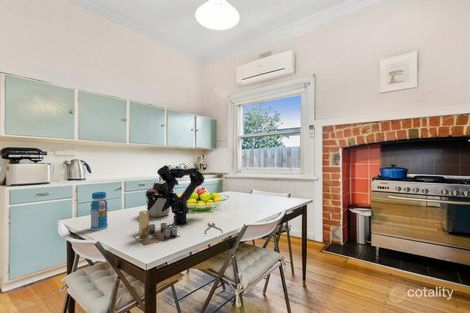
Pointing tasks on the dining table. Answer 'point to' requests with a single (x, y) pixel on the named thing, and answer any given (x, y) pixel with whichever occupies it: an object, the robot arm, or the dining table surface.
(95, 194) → the beverage bottle
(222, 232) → the pliers
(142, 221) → the disc
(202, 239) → the dining table surface
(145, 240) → the walnut board
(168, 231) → the spacer posts
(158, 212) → the canister
